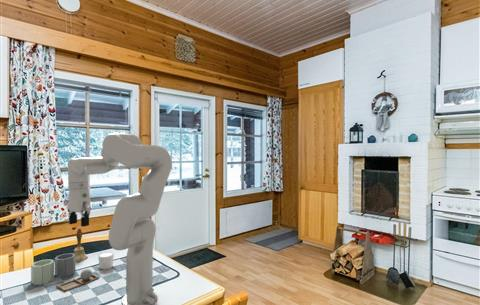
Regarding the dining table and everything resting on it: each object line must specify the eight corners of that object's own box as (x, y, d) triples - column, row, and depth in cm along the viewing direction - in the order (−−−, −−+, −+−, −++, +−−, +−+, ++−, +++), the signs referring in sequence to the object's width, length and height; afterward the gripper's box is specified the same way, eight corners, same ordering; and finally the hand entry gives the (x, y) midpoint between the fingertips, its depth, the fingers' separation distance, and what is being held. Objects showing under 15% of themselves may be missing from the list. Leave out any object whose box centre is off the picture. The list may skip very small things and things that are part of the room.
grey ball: (93, 279, 121) (93, 269, 121) (83, 283, 118) (83, 272, 118) (88, 276, 124) (88, 266, 124) (78, 280, 120) (78, 270, 120)
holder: (98, 280, 122) (98, 276, 122) (64, 294, 110) (64, 289, 110) (90, 276, 126) (90, 272, 126) (56, 289, 114) (56, 285, 114)
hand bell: (70, 257, 149) (71, 227, 149) (88, 254, 152) (88, 226, 152) (68, 262, 141) (68, 231, 141) (87, 260, 145) (87, 230, 145)
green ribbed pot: (56, 281, 121) (56, 261, 121) (36, 288, 115) (36, 267, 115) (48, 277, 125) (48, 258, 125) (28, 283, 119) (28, 263, 119)
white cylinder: (107, 272, 130) (107, 257, 130) (94, 271, 132) (95, 256, 132) (116, 266, 137) (116, 252, 137) (104, 265, 139) (104, 251, 138)
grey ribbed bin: (77, 274, 128) (78, 255, 128) (60, 280, 122) (60, 260, 122) (69, 270, 133) (69, 252, 133) (52, 275, 126) (52, 257, 126)
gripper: (97, 185, 121) (98, 224, 120) (76, 184, 130) (77, 221, 130) (80, 187, 114) (81, 229, 114) (59, 186, 124) (60, 224, 123)
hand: (79, 224), depth 122 cm, fingers open, 9 cm apart
